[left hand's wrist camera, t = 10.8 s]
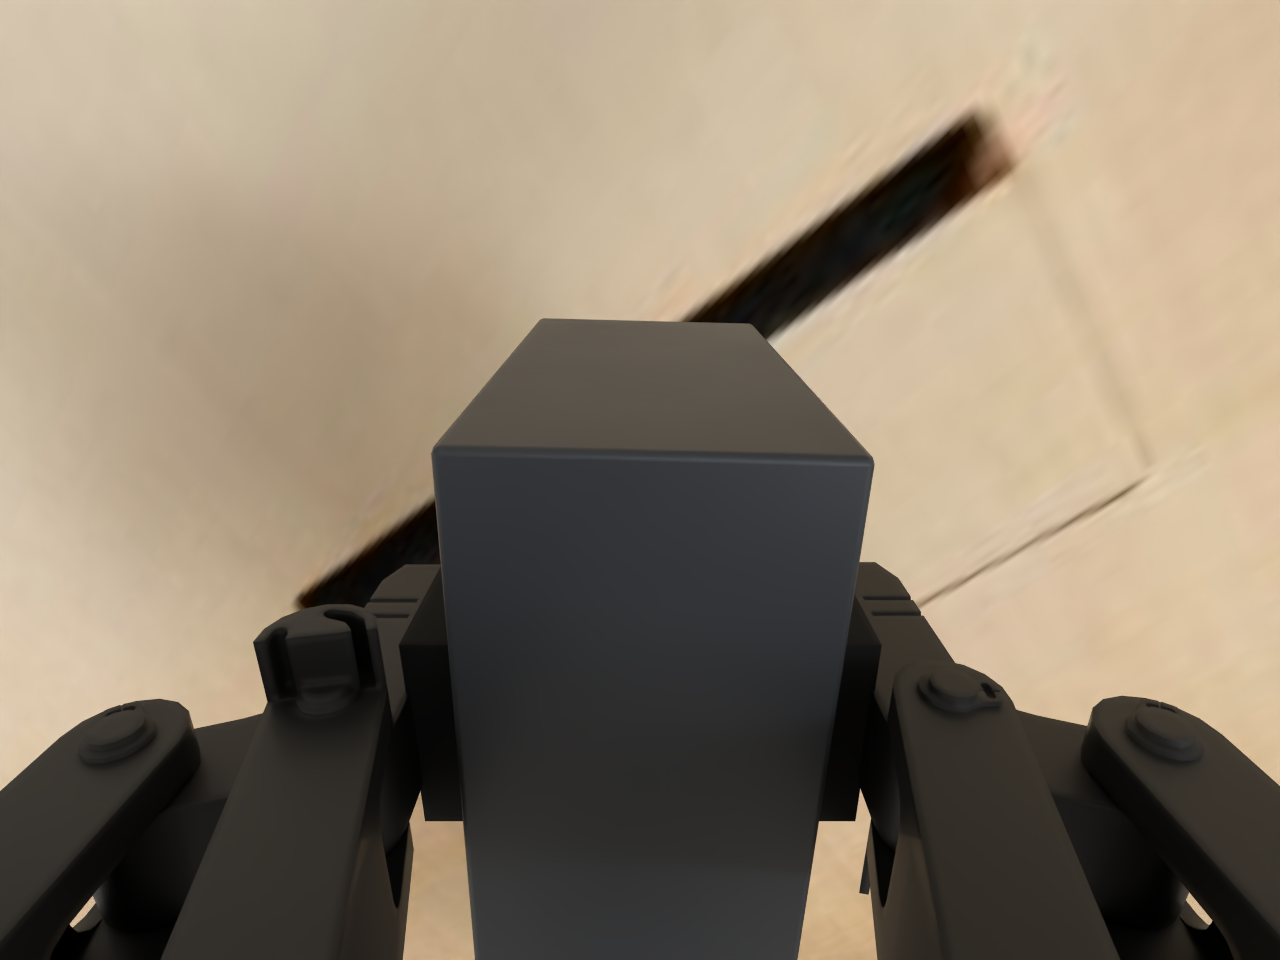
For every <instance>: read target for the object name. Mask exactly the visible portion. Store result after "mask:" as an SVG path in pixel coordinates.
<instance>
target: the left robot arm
mask: <svg viewBox="0 0 1280 960" xmlns="http://www.w3.org/2000/svg"><path fill="white" fill-rule="evenodd" d="M253 644H254V648H255V652H256V656H257V660H258V664H259V668H260V672H261V677H262V681H263V685H264V689H265V693H266V697H267V701H268V703H267V705H266V707H265V710H264V712H263V713H262V714H258V715H255V716H251V717H248V718H244V719H239V720H234V721H230V722H225V723H220V724H215V725H211V726H206V727H201V728H196V729H194V728H193V724H192V721H191V717H190V714H189V711H188V710H187V709H186V708H184V707H183V706H182V705H181V704H180V703H179V702H174V701H169V700H163V699H153V700H143V701H135V702H131V703H126V704H123V705H121V706H120V705H119V706H116V707H113V708H110V709H107V710H105V711H104V712H102V713H99V714H97V715H95V716H93V717H91V718H89V719H87V720H85V721H83V722H81V723H80V724H78V725H77V726H76V727H74V728H73V729H71V730H70V731H69V732H67V733H66V734H64V735H63V736H62V737H60V738H59V739H58V740H57V741H56V742H55V743H53V744H52V745H51V746H50V747H49V748H48V749H47V750H46V751H45V752H43V753H42V754H41V755H40V756H39V757H38V758H37V759H36V760H35V761H33V762H32V763H31V764H30V765H29V766H28V767H27V768H26V769H25V770H23V771H22V772H21V773H20V774H19V775H18V776H17V777H16V778H14V779H13V780H12V781H11V782H10V783H9V784H8V785H7V786H6V787H4V788H3V789H2V790H1V791H0V960H403V951H404V941H405V931H406V921H407V911H408V901H409V891H410V881H411V871H412V861H413V851H414V849H413V842H412V835H411V829H410V823H409V820H410V818H411V815H412V812H413V809H414V807H415V804H416V801H417V799H418V796H419V793H420V790H421V796H422V803H423V809H424V816H425V821H463V814H462V802H461V791H460V779H459V767H458V756H457V744H456V733H455V721H454V710H453V698H452V687H451V675H450V663H449V652H448V640H447V629H446V617H445V606H444V594H443V583H442V571H441V565H404V566H403V567H401V568H400V569H398V570H397V571H396V572H394V573H393V574H391V575H390V576H388V577H387V578H385V579H384V580H383V581H382V582H381V584H380V585H379V587H378V588H377V590H376V591H375V593H374V594H373V596H372V597H371V599H370V603H367V605H366V606H365V608H362V607H358V606H354V605H350V604H327V605H322V606H317V607H312V608H307V609H303V610H300V611H298V612H295V613H292V614H290V615H287V616H285V617H282V618H281V619H279V620H277V621H276V622H274V623H273V624H271V625H270V626H268V627H266V628H265V629H264V630H263V631H262V632H261V633H260V635H259V636H258V637H257V638H256V639H255V640H254V642H253ZM860 788H861V791H862V794H863V797H864V799H865V802H866V805H867V807H868V810H869V813H870V815H871V823H870V829H869V835H868V842H867V848H866V854H865V860H864V866H863V872H862V879H861V885H860V892H859V893H862V894H869V889H871V899H872V909H873V919H874V929H875V939H876V949H877V959H878V960H1280V786H1279V785H1278V784H1277V783H1276V782H1275V781H1273V780H1272V779H1271V778H1270V777H1269V776H1268V775H1267V774H1266V773H1265V772H1263V771H1262V770H1261V769H1260V768H1259V767H1258V766H1257V765H1256V764H1254V763H1253V762H1252V761H1251V760H1250V759H1249V758H1248V757H1247V756H1245V755H1244V754H1243V753H1242V752H1241V751H1240V750H1239V749H1238V748H1236V747H1235V746H1234V745H1233V744H1232V743H1231V742H1230V741H1229V740H1227V739H1226V738H1225V737H1224V736H1223V735H1222V734H1220V733H1219V732H1218V731H1216V730H1215V729H1213V728H1212V727H1211V726H1209V725H1208V724H1206V723H1205V722H1204V721H1202V720H1201V719H1199V718H1197V717H1195V716H1193V715H1191V714H1189V713H1187V712H1184V711H1182V710H1180V709H1178V708H1177V707H1175V706H1172V705H1169V704H1166V703H1163V702H1158V701H1156V700H1151V699H1147V698H1139V697H1128V696H1118V697H1113V698H1107V699H1103V700H1102V701H1101V702H1099V703H1098V704H1097V705H1096V706H1095V707H1093V709H1092V713H1091V716H1090V719H1089V723H1088V726H1084V725H1079V724H1075V723H1070V722H1065V721H1060V720H1056V719H1051V718H1046V717H1041V716H1037V715H1033V714H1029V713H1026V712H1022V711H1018V710H1016V709H1015V706H1014V704H1013V701H1012V700H1011V699H1010V697H1009V696H1008V694H1007V693H1006V692H1005V690H1004V689H1003V687H1001V686H1000V685H999V684H997V683H996V682H995V681H993V680H992V679H991V678H989V677H988V676H987V675H985V674H983V673H981V672H978V671H976V670H974V669H972V668H969V667H967V666H965V665H961V664H957V663H955V662H954V661H953V659H952V658H951V656H950V655H949V653H948V652H947V650H946V649H945V647H944V646H943V644H942V643H941V641H940V640H939V638H938V637H937V635H936V634H935V632H934V631H933V629H932V628H931V626H930V625H929V623H928V622H927V620H926V619H925V617H924V616H921V611H920V610H919V608H918V607H917V605H916V604H915V602H914V601H913V600H911V596H910V595H909V593H908V592H907V590H906V589H905V587H904V586H903V585H902V583H901V582H900V580H899V579H898V578H897V577H896V576H894V575H893V574H891V573H890V572H888V571H887V570H886V569H884V568H883V567H881V566H880V565H878V564H877V563H875V562H859V567H858V573H857V580H856V586H855V593H854V599H853V605H852V612H851V618H850V625H849V631H848V638H847V644H846V650H845V657H844V663H843V670H842V676H841V682H840V689H839V695H838V702H837V708H836V715H835V721H834V727H833V734H832V740H831V747H830V753H829V760H828V766H827V772H826V779H825V785H824V792H823V798H822V804H821V811H820V817H819V821H855V819H856V812H857V806H858V799H859V793H860ZM1189 892H1190V894H1191V895H1192V896H1193V897H1194V898H1195V900H1196V901H1197V902H1198V903H1199V904H1200V906H1201V907H1202V908H1203V909H1204V911H1205V912H1206V913H1207V914H1208V915H1209V917H1210V918H1211V919H1212V920H1213V921H1212V923H1211V924H1210V925H1208V924H1206V923H1205V922H1204V921H1203V920H1202V919H1201V918H1200V917H1199V916H1198V915H1197V914H1196V913H1195V911H1194V910H1193V909H1192V908H1191V906H1190V905H1189V904H1188V903H1187V901H1186V899H1187V896H1188V894H1189ZM92 896H93V897H94V899H95V902H96V904H95V905H94V906H93V907H92V908H91V910H90V911H89V912H88V913H87V915H86V916H85V917H84V918H83V919H82V920H81V921H80V922H79V923H77V924H76V925H75V926H74V927H73V928H72V927H71V926H70V923H71V921H72V920H73V919H74V918H75V916H76V915H77V914H78V913H79V912H80V910H81V909H82V908H83V907H84V905H85V904H86V903H87V902H88V901H89V899H90V898H91V897H92Z"/></svg>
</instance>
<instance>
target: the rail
mask: <svg viewBox="0 0 1280 960" xmlns="http://www.w3.org/2000/svg"><path fill="white" fill-rule="evenodd" d="M431 455H432V467H433V479H434V490H435V502H436V513H437V525H438V536H439V548H440V559H441V571H442V583H443V594H444V606H445V617H446V629H447V640H448V652H449V663H450V675H451V687H452V698H453V710H454V721H455V733H456V744H457V756H458V767H459V779H460V791H461V802H462V814H463V825H464V837H465V848H466V860H467V871H468V883H469V895H470V906H471V918H472V929H473V941H474V952H475V960H797V959H798V952H799V946H800V939H801V933H802V926H803V920H804V914H805V907H806V901H807V894H808V888H809V881H810V875H811V869H812V862H813V856H814V849H815V843H816V837H817V830H818V824H819V817H820V811H821V804H822V798H823V792H824V785H825V779H826V772H827V766H828V760H829V753H830V747H831V740H832V734H833V727H834V721H835V715H836V708H837V702H838V695H839V689H840V682H841V676H842V670H843V663H844V657H845V650H846V644H847V638H848V631H849V625H850V618H851V612H852V605H853V599H854V593H855V586H856V580H857V573H858V567H859V561H860V554H861V548H862V541H863V535H864V528H865V522H866V516H867V509H868V503H869V496H870V490H871V483H872V477H873V471H874V460H873V457H872V456H871V455H870V454H869V453H868V452H867V451H866V450H865V448H864V447H863V446H862V445H861V444H860V443H859V442H858V441H857V440H856V439H855V437H854V436H853V435H852V434H851V433H850V432H849V431H848V430H847V429H846V428H845V426H844V425H843V424H842V423H841V422H840V421H839V420H838V419H837V418H836V417H835V415H834V414H833V413H832V412H831V411H830V410H829V409H828V408H827V407H826V406H825V404H824V403H823V402H822V401H821V400H820V399H819V398H818V397H817V396H816V395H815V393H814V392H813V391H812V390H811V389H810V388H809V387H808V386H807V385H806V384H805V382H804V381H803V380H802V379H801V378H800V377H799V376H798V375H797V374H796V373H795V372H794V370H793V369H792V368H791V367H790V366H789V365H788V364H787V363H786V362H785V361H784V359H783V358H782V357H781V356H780V355H779V354H778V353H777V352H776V351H775V350H774V348H773V347H772V346H771V345H770V344H769V343H768V342H767V341H766V340H765V339H764V337H763V336H762V335H761V334H760V333H759V332H758V331H757V330H756V329H755V328H754V326H753V325H751V324H737V323H698V322H659V321H621V320H582V319H541V320H540V321H539V322H538V323H537V324H536V325H535V327H534V328H533V329H532V330H531V331H530V333H529V334H528V335H527V336H526V337H525V339H524V340H523V341H522V342H521V343H520V345H519V346H518V347H517V348H516V349H515V350H514V352H513V353H512V354H511V355H510V356H509V358H508V359H507V360H506V361H505V362H504V364H503V365H502V366H501V367H500V368H499V370H498V371H497V372H496V373H495V374H494V376H493V377H492V378H491V379H490V380H489V381H488V383H487V384H486V385H485V386H484V387H483V389H482V390H481V391H480V392H479V393H478V395H477V396H476V397H475V398H474V399H473V401H472V402H471V403H470V404H469V405H468V407H467V408H466V409H465V410H464V411H463V412H462V414H461V415H460V416H459V417H458V418H457V420H456V421H455V422H454V423H453V424H452V426H451V427H450V428H449V429H448V430H447V432H446V433H445V434H444V435H443V436H442V438H441V439H440V440H439V441H438V442H437V443H436V445H435V446H434V447H433V450H432V453H431Z"/></svg>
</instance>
